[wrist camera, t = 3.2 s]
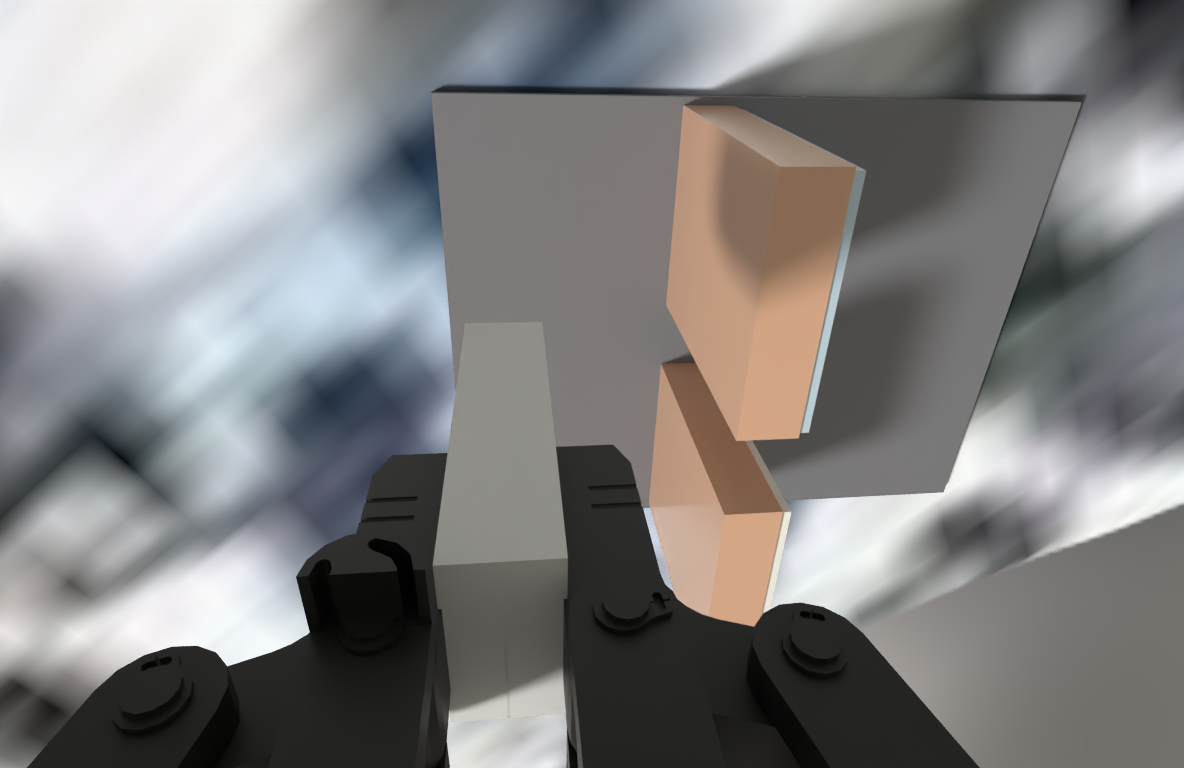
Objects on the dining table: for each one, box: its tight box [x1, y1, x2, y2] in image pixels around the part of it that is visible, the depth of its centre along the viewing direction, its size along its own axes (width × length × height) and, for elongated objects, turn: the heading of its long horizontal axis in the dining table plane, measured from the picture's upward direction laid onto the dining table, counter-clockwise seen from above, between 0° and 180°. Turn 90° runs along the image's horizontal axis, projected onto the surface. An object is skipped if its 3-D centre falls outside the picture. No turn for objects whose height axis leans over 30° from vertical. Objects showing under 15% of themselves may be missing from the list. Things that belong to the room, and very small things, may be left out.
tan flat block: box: [649, 363, 791, 626], centre depth 25 cm, size 7×2×9 cm, turn 178°
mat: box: [431, 91, 1082, 508], centre depth 27 cm, size 17×22×1 cm
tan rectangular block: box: [666, 105, 866, 441], centre depth 20 cm, size 7×2×9 cm, turn 178°
